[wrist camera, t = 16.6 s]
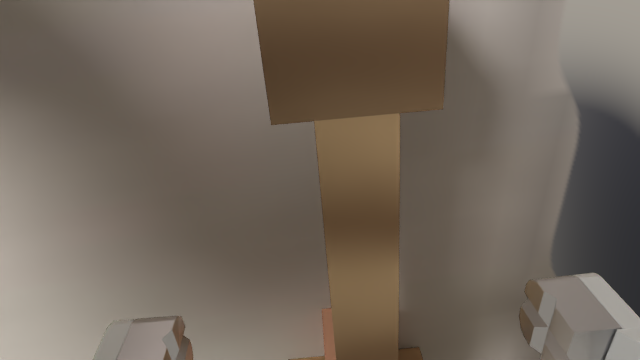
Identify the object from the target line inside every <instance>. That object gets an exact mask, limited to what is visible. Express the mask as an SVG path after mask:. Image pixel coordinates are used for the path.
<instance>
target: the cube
mask: <svg viewBox="0 0 640 360" xmlns="http://www.w3.org/2000/svg"><path fill="white" fill-rule="evenodd" d="M322 319H323V335H324V350H325V360H336V353H335V342H334V331H333V321H332V310H331V308H327V309H322Z"/></svg>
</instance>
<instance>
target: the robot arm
mask: <svg viewBox="0 0 640 360" xmlns="http://www.w3.org/2000/svg"><path fill="white" fill-rule="evenodd" d="M524 292H525V294H526V295H527V297H528V298H529V299H528V300H526V301H525V302H524V303H523V304H522V305H521V308H520V314H519V319H520V326H521V330H522V332H523V335H524V337H525V339H526V341H527V342H528V344H529V346H530V347H532V348H533V349H535V350H536V351H538V352H540V353H541V357H540V360H640V318H639V316H637V314H636V313H635V312H634V311H633V310H632V309H631V308H630V307H629V306H628V305H627V304H626V303H625V302H624V300H623V299H622V298H621V297H620V296H619V295H618V294H617V293H616V292H615V291H614V290H613V289H612V288H611V287H610V286H609V284H608V283H606V281H605V280H604V279H603V278H602V277H601V276H600V275H598V274H596V273H586V274H578V275H572V276H569V275H567V276H558V277H549V278H541V279H532V280H529V281H528V283H527V284H526V287H525V291H524ZM184 330H185V324H184V322H183V319H182V317H181V316H167V317H154V318H140V319H132V320H119V321H113V322H112V323H111V324H110V325H109V326H108V327H107V329H106V332H105V334H104V336H103V338H102V340H101V342H100V345H99V347H98V349H97V351H96V353H95V355H94V357H93V360H193V351H192V346H191V342H190V340H189V339H188V338H186V337H185V336H184V335H183V334H184Z"/></svg>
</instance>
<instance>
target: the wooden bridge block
mask: <svg viewBox="0 0 640 360" xmlns="http://www.w3.org/2000/svg"><path fill="white" fill-rule="evenodd" d="M254 7H255V14H256V21H257V29H258V36H259V43H260V50H261V57H262V64H263V71H264V78H265V85H266V92H267V99H268V106H269V113H270V120H271V125H277V124H288V123H299V122H310V121H314V125H315V136H316V147H317V158H318V168H319V179H320V190H321V201H322V212H323V223H324V234H325V245H326V255H327V266H328V277H329V288H330V299H331V310H332V321H333V331H334V342H335V353H336V360H423V358H422V355H421V352H420V349H419V347H416V348H406V349H398V339H399V204H400V113H407V112H418V111H429V110H440V109H443V102H444V85H445V67H446V49H447V31H448V14H449V0H254ZM288 360H325V356H320V357H309V358H298V359H288Z"/></svg>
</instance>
